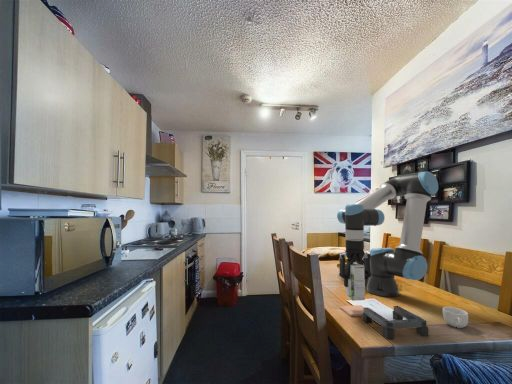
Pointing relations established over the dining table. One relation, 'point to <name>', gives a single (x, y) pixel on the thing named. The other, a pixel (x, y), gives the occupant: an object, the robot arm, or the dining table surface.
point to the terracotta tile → (353, 310)
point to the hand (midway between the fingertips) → (355, 294)
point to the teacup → (455, 317)
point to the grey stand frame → (396, 321)
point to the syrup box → (357, 282)
